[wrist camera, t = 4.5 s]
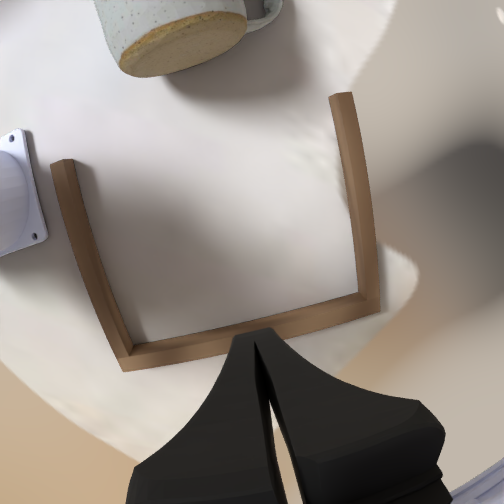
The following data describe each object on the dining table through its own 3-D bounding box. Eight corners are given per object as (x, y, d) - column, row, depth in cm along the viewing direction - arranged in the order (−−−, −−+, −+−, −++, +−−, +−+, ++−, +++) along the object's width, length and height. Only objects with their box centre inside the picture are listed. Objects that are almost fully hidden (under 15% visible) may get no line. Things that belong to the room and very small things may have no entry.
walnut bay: (127, 360, 22) (123, 372, 20) (60, 163, 18) (49, 164, 16) (371, 302, 23) (380, 311, 21) (342, 95, 18) (351, 91, 17)
